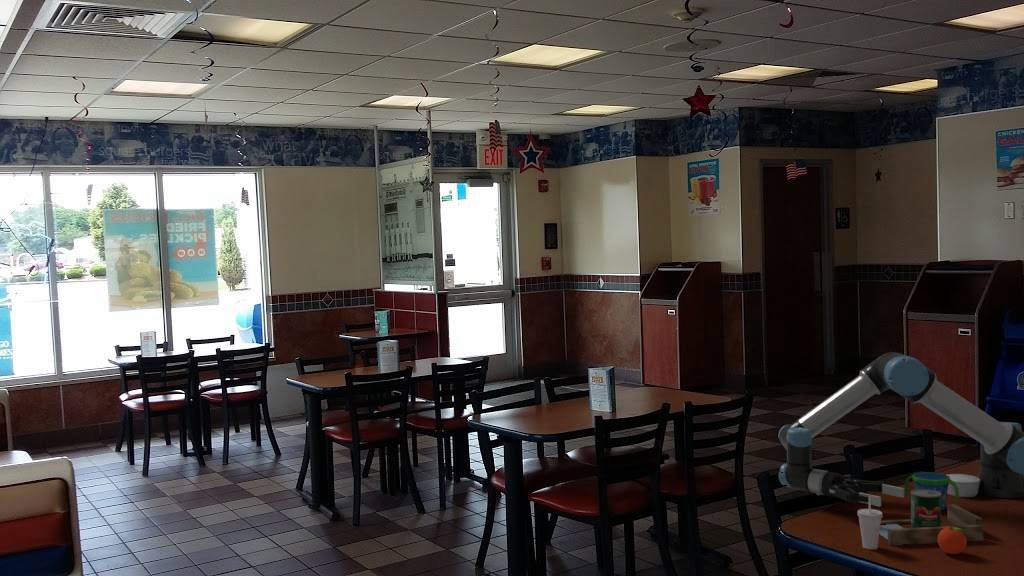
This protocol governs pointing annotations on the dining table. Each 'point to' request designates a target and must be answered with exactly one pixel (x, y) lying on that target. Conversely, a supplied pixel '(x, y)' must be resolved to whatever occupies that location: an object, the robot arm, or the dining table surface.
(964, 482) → the ramekin
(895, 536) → the bay
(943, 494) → the snack cup
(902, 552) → the dining table surface
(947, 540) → the clementine
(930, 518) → the canned tomato
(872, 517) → the smoothie
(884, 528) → the front pad
